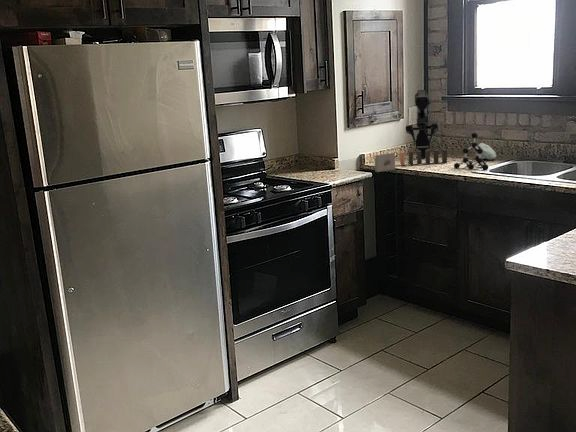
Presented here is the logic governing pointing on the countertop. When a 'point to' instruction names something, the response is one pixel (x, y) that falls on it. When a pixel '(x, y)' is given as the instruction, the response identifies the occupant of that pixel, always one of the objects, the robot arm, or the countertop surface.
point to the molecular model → (477, 158)
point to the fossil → (384, 162)
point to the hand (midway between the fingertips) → (422, 142)
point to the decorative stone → (487, 152)
